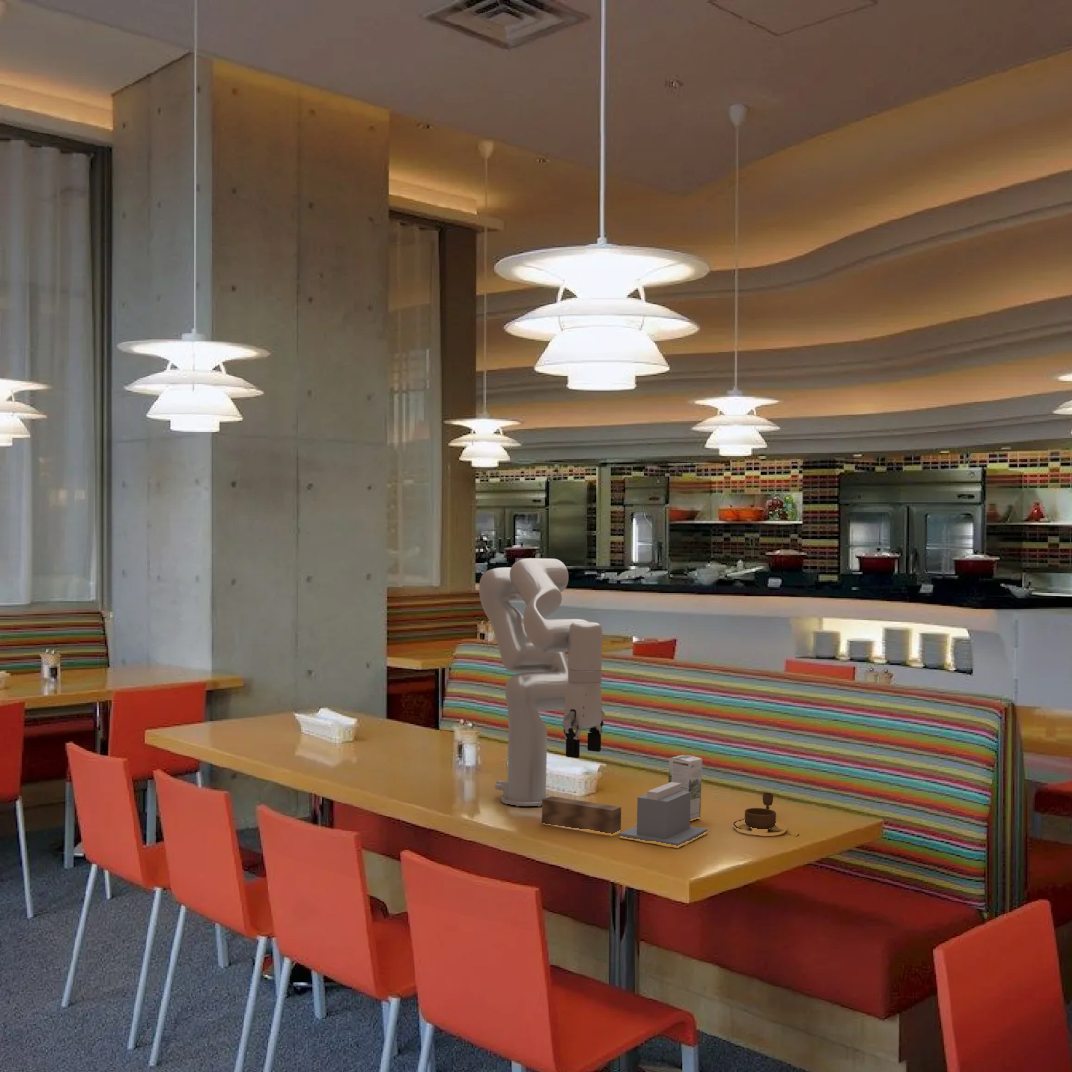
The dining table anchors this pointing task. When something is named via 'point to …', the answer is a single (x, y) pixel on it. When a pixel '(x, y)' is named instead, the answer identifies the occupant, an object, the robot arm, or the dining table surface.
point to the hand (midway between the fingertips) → (583, 754)
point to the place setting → (760, 815)
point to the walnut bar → (581, 814)
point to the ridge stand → (664, 816)
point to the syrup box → (688, 779)
